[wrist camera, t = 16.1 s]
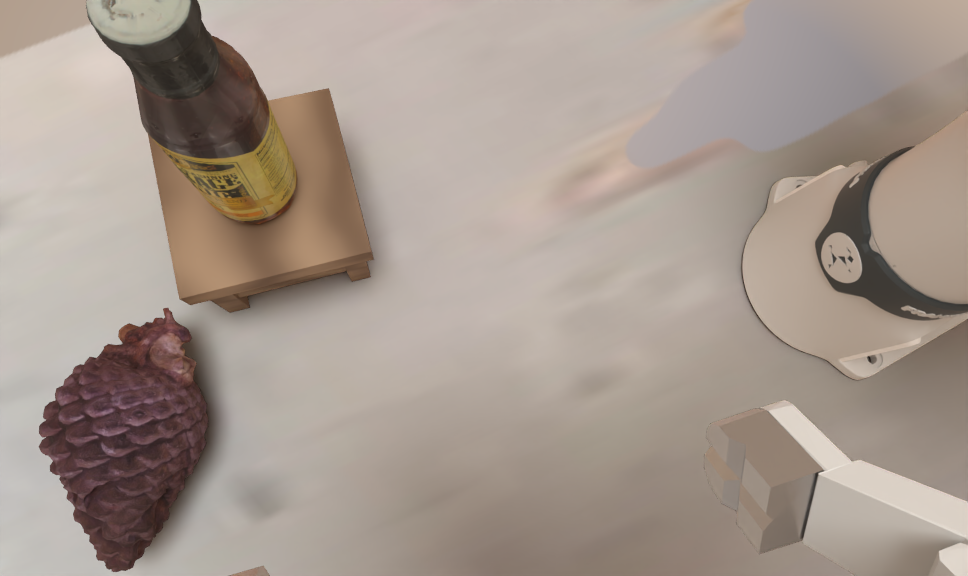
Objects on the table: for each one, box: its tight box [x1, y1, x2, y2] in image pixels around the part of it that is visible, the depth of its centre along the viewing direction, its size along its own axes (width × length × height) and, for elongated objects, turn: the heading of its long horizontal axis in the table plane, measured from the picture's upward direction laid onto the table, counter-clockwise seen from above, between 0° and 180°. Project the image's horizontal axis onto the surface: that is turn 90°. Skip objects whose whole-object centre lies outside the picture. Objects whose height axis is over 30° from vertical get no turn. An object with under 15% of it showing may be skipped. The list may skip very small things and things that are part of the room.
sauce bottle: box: [86, 0, 297, 224], centre depth 34 cm, size 7×6×20 cm
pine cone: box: [39, 308, 208, 572], centre depth 43 cm, size 18×10×10 cm, turn 0°
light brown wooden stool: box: [148, 88, 374, 312], centre depth 48 cm, size 13×13×9 cm
